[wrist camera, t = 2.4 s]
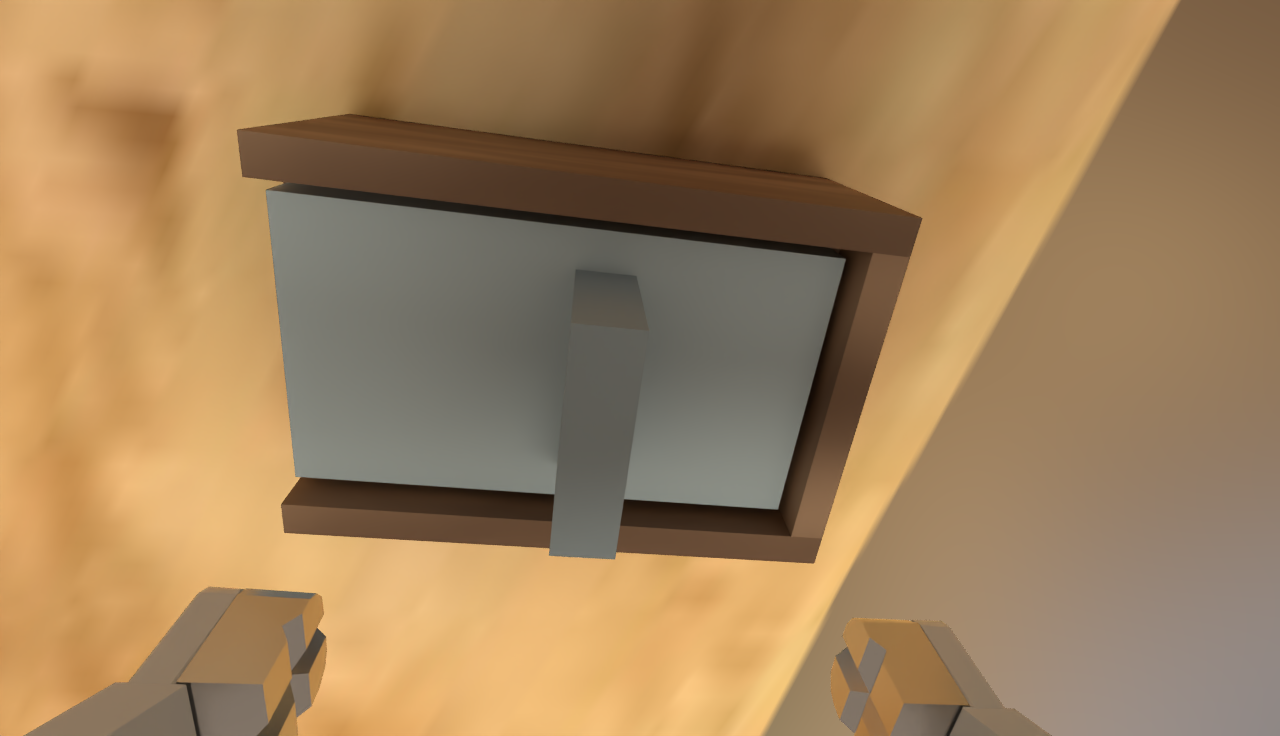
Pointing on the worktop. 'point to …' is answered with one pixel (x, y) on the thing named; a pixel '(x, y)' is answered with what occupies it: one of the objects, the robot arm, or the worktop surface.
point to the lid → (543, 354)
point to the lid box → (630, 195)
